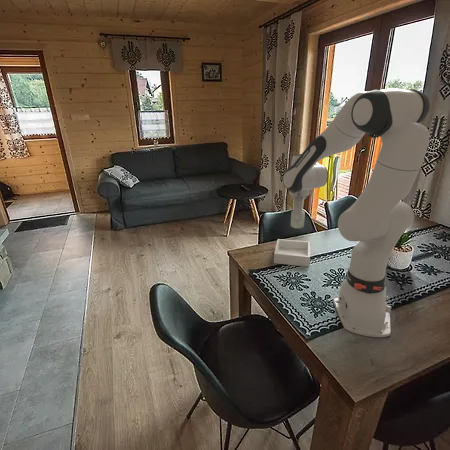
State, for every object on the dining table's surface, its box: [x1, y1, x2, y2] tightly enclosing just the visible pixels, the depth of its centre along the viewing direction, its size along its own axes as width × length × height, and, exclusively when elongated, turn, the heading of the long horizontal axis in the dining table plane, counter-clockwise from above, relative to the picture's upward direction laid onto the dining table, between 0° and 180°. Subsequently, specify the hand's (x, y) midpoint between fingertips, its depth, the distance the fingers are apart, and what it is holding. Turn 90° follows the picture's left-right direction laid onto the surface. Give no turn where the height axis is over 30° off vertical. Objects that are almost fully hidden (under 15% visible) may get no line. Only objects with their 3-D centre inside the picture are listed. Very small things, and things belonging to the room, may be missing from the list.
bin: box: [273, 238, 311, 268], centre depth 138 cm, size 16×16×5 cm
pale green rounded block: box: [290, 209, 306, 229], centre depth 132 cm, size 6×6×7 cm
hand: (297, 219), depth 132 cm, fingers closed on pale green rounded block, 6 cm apart
